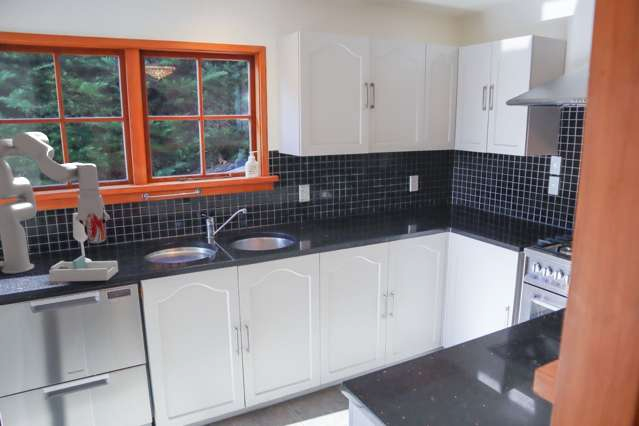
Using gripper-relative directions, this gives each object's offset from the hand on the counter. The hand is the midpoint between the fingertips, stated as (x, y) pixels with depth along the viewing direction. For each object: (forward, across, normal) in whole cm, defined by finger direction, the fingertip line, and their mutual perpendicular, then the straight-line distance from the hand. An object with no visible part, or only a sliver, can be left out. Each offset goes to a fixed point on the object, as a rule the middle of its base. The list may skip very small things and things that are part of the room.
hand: (94, 234), depth 201 cm
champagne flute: (+19, -17, +23) cm, 34 cm away
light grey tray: (+19, -6, 0) cm, 20 cm away
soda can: (+4, +1, 0) cm, 4 cm away
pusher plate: (+18, -8, 0) cm, 19 cm away
